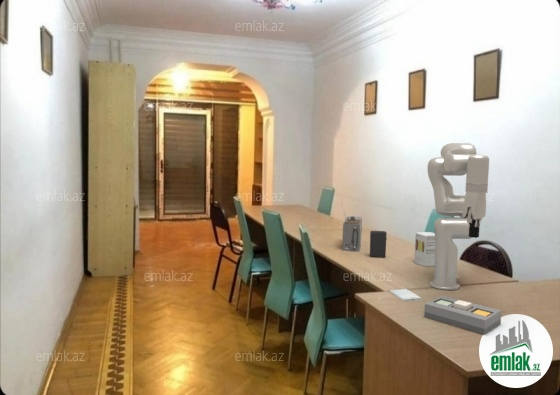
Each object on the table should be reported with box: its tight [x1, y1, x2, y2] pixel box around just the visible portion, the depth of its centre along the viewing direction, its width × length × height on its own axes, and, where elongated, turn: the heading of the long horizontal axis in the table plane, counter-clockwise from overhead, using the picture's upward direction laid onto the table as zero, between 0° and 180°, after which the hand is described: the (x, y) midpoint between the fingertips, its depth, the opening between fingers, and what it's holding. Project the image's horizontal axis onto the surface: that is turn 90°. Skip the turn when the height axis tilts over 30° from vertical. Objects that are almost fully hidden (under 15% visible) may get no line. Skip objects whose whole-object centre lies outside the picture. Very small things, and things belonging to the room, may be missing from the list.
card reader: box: [369, 230, 388, 259], centre depth 260 cm, size 9×4×15 cm, turn 80°
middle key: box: [453, 299, 473, 311], centre depth 164 cm, size 5×5×2 cm
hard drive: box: [389, 288, 423, 302], centre depth 191 cm, size 2×8×12 cm
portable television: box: [341, 203, 363, 252], centre depth 285 cm, size 12×24×30 cm, turn 167°
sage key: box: [436, 300, 453, 306], centre depth 169 cm, size 5×5×2 cm
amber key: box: [473, 310, 491, 316], centre depth 159 cm, size 5×5×2 cm
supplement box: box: [413, 231, 435, 268], centre depth 245 cm, size 10×9×17 cm
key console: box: [423, 295, 502, 336], centre depth 164 cm, size 14×22×5 cm, turn 44°
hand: (473, 236), depth 171 cm, fingers closed
